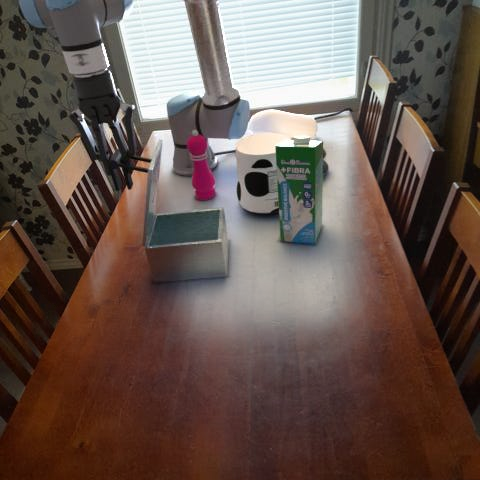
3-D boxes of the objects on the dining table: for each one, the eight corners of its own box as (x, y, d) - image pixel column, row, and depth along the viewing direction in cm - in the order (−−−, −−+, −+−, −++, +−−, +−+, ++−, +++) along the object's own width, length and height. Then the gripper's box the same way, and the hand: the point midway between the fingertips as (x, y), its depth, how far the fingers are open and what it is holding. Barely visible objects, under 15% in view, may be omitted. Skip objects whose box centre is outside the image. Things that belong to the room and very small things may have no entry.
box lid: (162, 139, 103) (119, 130, 101) (152, 169, 91) (103, 159, 90) (155, 212, 115) (116, 205, 114) (145, 246, 103) (102, 239, 102)
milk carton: (322, 226, 121) (323, 130, 104) (314, 244, 115) (315, 146, 98) (289, 223, 124) (285, 130, 107) (280, 241, 117) (275, 145, 101)
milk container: (254, 187, 142) (249, 128, 129) (306, 194, 134) (305, 133, 122) (228, 214, 131) (219, 153, 119) (283, 223, 124) (280, 159, 112)
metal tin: (228, 240, 120) (223, 207, 114) (227, 276, 109) (221, 241, 102) (162, 246, 122) (154, 213, 115) (154, 282, 110) (144, 248, 103)
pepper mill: (194, 191, 144) (181, 127, 131) (216, 188, 144) (206, 124, 130) (194, 202, 139) (181, 136, 125) (217, 199, 138) (207, 132, 125)
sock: (318, 108, 163) (320, 128, 155) (315, 134, 171) (317, 154, 163) (248, 108, 165) (247, 127, 156) (249, 134, 172) (247, 153, 164)
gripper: (45, 82, 84) (88, 198, 100) (125, 72, 83) (155, 191, 99) (57, 71, 89) (96, 183, 105) (132, 62, 88) (159, 176, 104)
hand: (124, 187), depth 102 cm, fingers closed on box lid, 2 cm apart
